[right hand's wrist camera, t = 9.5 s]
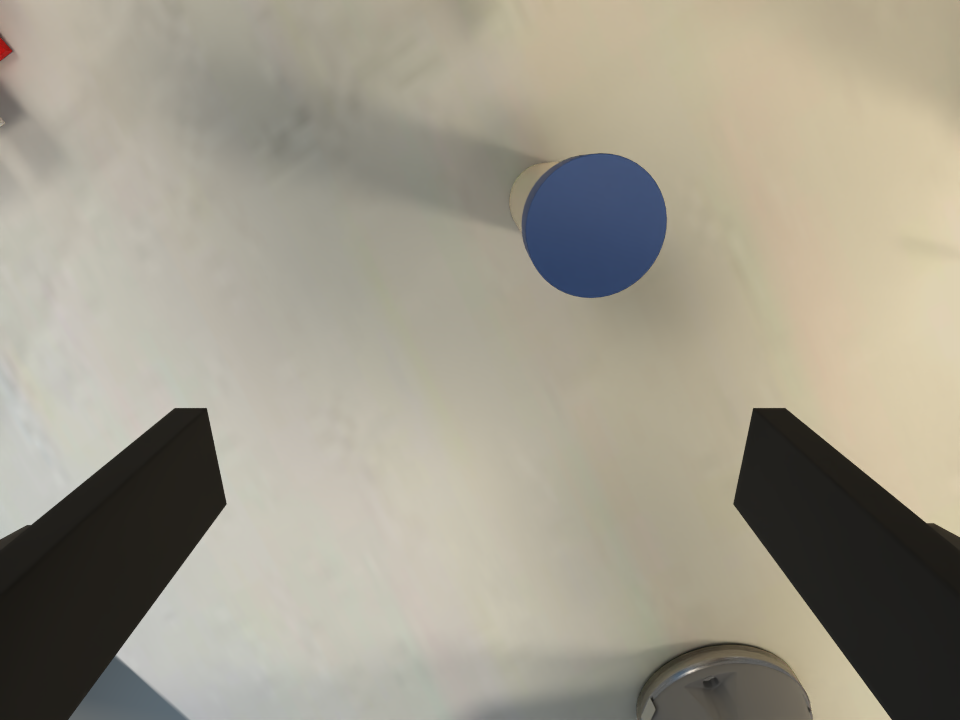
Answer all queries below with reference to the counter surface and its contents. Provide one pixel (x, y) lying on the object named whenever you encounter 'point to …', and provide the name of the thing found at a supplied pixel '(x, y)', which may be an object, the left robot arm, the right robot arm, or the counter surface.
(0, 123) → the toy
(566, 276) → the lid
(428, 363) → the counter surface
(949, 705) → the right robot arm
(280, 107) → the counter surface
